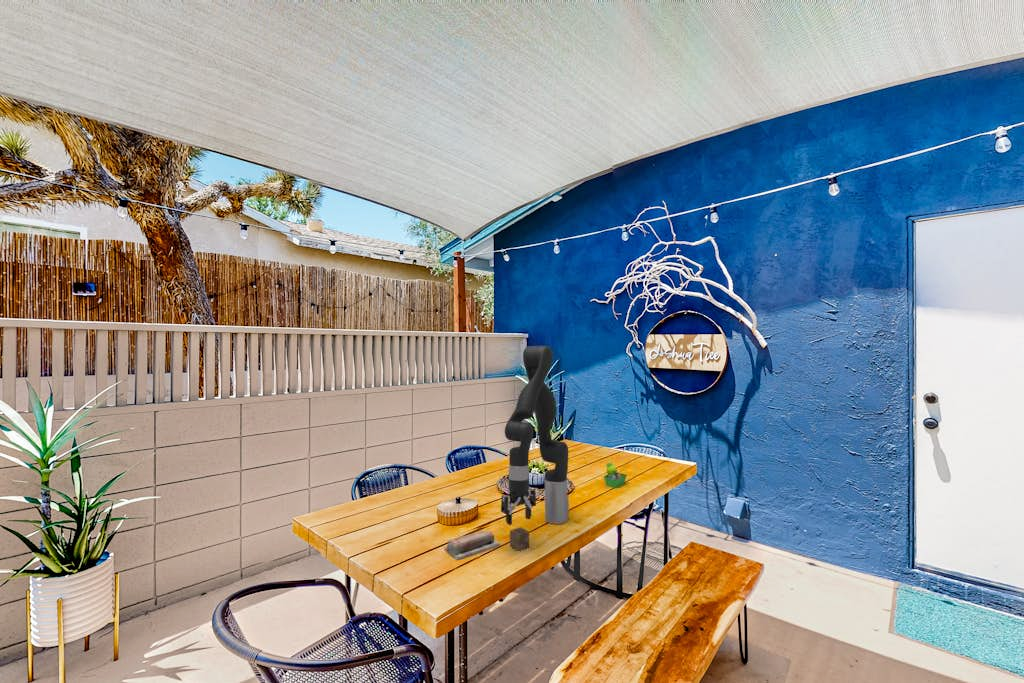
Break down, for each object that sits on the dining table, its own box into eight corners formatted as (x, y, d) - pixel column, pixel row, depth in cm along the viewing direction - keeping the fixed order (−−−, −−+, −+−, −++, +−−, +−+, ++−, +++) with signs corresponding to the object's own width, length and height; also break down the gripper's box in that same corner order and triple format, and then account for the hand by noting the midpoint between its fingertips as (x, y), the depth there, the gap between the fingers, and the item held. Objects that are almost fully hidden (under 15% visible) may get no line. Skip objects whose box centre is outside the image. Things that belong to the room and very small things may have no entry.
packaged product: (457, 548, 148) (444, 537, 156) (457, 562, 148) (444, 551, 156) (500, 534, 158) (486, 525, 166) (500, 547, 158) (486, 537, 166)
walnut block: (520, 543, 161) (520, 527, 161) (529, 548, 156) (529, 531, 157) (510, 547, 158) (510, 530, 158) (518, 552, 154) (518, 535, 154)
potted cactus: (615, 489, 219) (615, 467, 219) (600, 485, 225) (600, 463, 225) (627, 484, 226) (627, 463, 227) (613, 480, 233) (613, 459, 233)
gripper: (527, 471, 164) (527, 513, 164) (497, 477, 156) (496, 522, 156) (540, 475, 158) (540, 520, 158) (509, 482, 150) (509, 529, 150)
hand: (518, 521), depth 157 cm, fingers open, 8 cm apart
